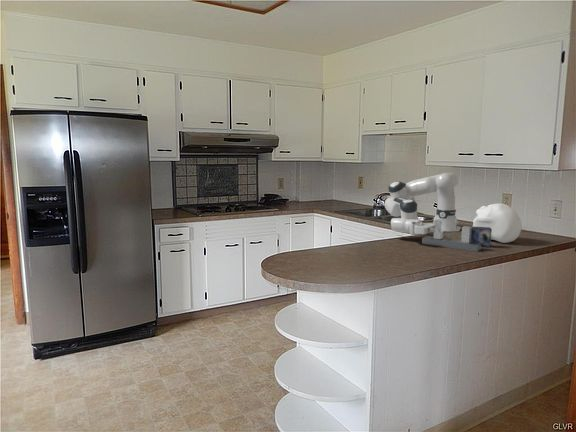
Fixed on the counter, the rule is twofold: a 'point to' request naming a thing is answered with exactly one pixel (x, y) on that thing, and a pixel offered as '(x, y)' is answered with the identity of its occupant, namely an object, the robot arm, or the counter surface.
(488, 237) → the small box
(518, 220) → the head
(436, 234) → the clip
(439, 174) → the robot arm
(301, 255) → the counter surface
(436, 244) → the rail
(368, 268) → the counter surface
